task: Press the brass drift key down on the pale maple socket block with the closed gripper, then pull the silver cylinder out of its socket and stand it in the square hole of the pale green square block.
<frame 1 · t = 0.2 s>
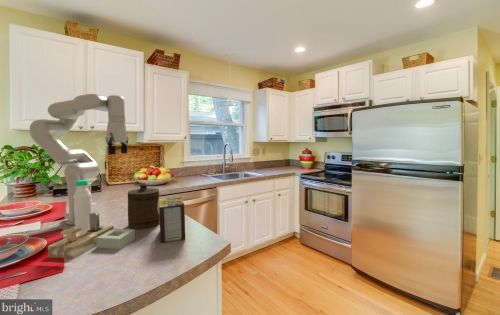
hand: (118, 153, 127), 37 cm above the countertop, tool pointing down, fingers open, 9 cm apart
pale green square block: (117, 245, 102), on the countertop
wooden container: (144, 226, 125), on the countertop
water bottle: (84, 233, 115), on the countertop
socket block: (88, 245, 102), on the countertop
drift key: (71, 236, 94), point 7 cm above the countertop, slide at 0.0 cm
protein box: (172, 235, 112), on the countertop
silver cylinder: (95, 238, 106), point 1 cm above the countertop, touching socket block
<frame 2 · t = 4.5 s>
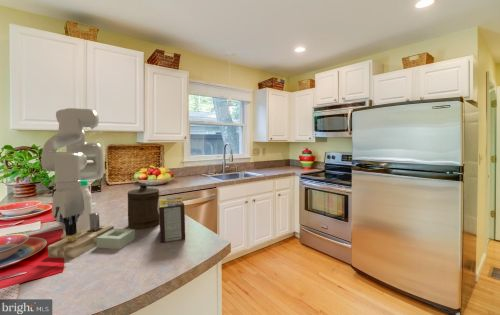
hand: (71, 233, 93), 8 cm above the countertop, tool pointing down, fingers closed
drift key: (71, 240, 94), point 5 cm above the countertop, slide at 1.4 cm, touching gripper
everything else where it was.
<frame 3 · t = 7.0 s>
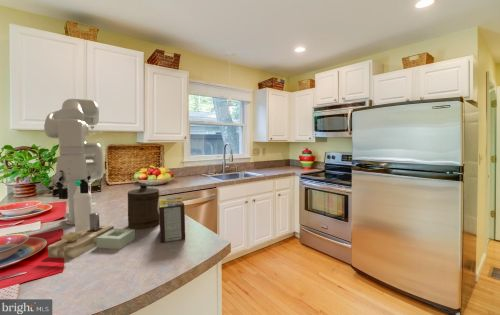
hand: (74, 195, 95), 22 cm above the countertop, tool pointing down, fingers open, 9 cm apart
drift key: (71, 241, 94), point 5 cm above the countertop, slide at 1.8 cm
everything else where it was.
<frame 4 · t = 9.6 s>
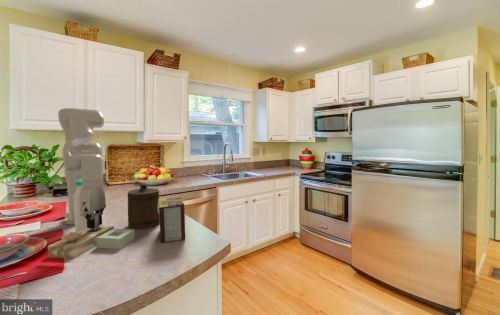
hand: (94, 225, 105), 7 cm above the countertop, tool pointing down, fingers closed on silver cylinder, 3 cm apart
silver cylinder: (95, 238, 106), point 1 cm above the countertop, touching gripper, socket block
everything else where it was.
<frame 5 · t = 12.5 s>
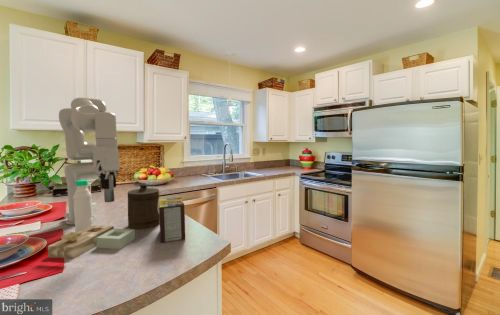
hand: (108, 187, 101), 24 cm above the countertop, tool pointing down, fingers closed on silver cylinder, 3 cm apart
silver cylinder: (109, 201, 101), point 18 cm above the countertop, touching gripper
everything else where it was.
when the fingers open (9 cm above the countertop, at t = 15.8 s): silver cylinder drops 2 cm, resting on pale green square block.
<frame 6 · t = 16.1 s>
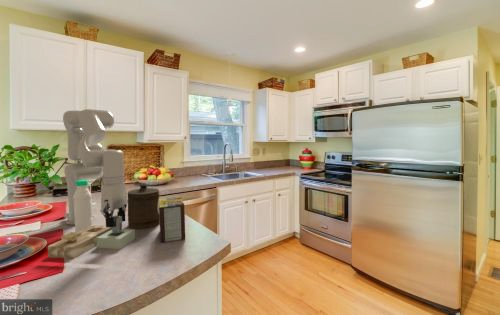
hand: (116, 223, 101), 9 cm above the countertop, tool pointing down, fingers open, 6 cm apart
silver cylinder: (116, 242, 102), point 1 cm above the countertop, touching pale green square block
everything else where it was.
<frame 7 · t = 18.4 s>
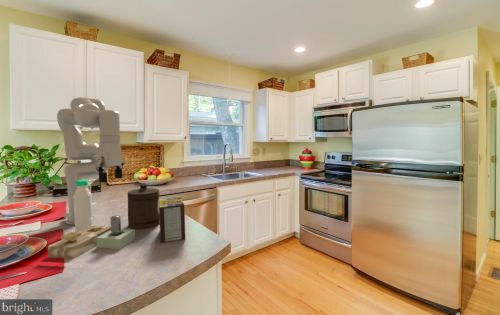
hand: (111, 179, 105), 26 cm above the countertop, tool pointing down, fingers open, 9 cm apart
nothing on the countertop moved.
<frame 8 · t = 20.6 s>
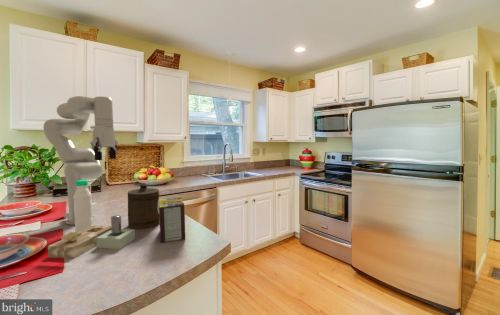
hand: (105, 159, 118), 34 cm above the countertop, tool pointing down, fingers open, 9 cm apart
nothing on the countertop moved.
at the end: drift key slide at 1.8 cm; silver cylinder 0.0 cm off-centre on the pale green square block, point 1.0 cm above the pale green square block's base; silver cylinder tilted 1° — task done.
